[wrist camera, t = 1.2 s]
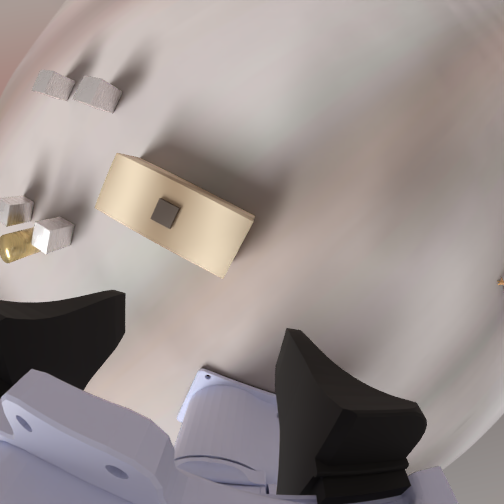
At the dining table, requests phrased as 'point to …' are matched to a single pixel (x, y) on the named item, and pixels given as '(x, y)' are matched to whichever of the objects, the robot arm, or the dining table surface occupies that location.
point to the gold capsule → (17, 245)
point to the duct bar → (174, 213)
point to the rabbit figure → (501, 282)
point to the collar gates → (20, 208)
